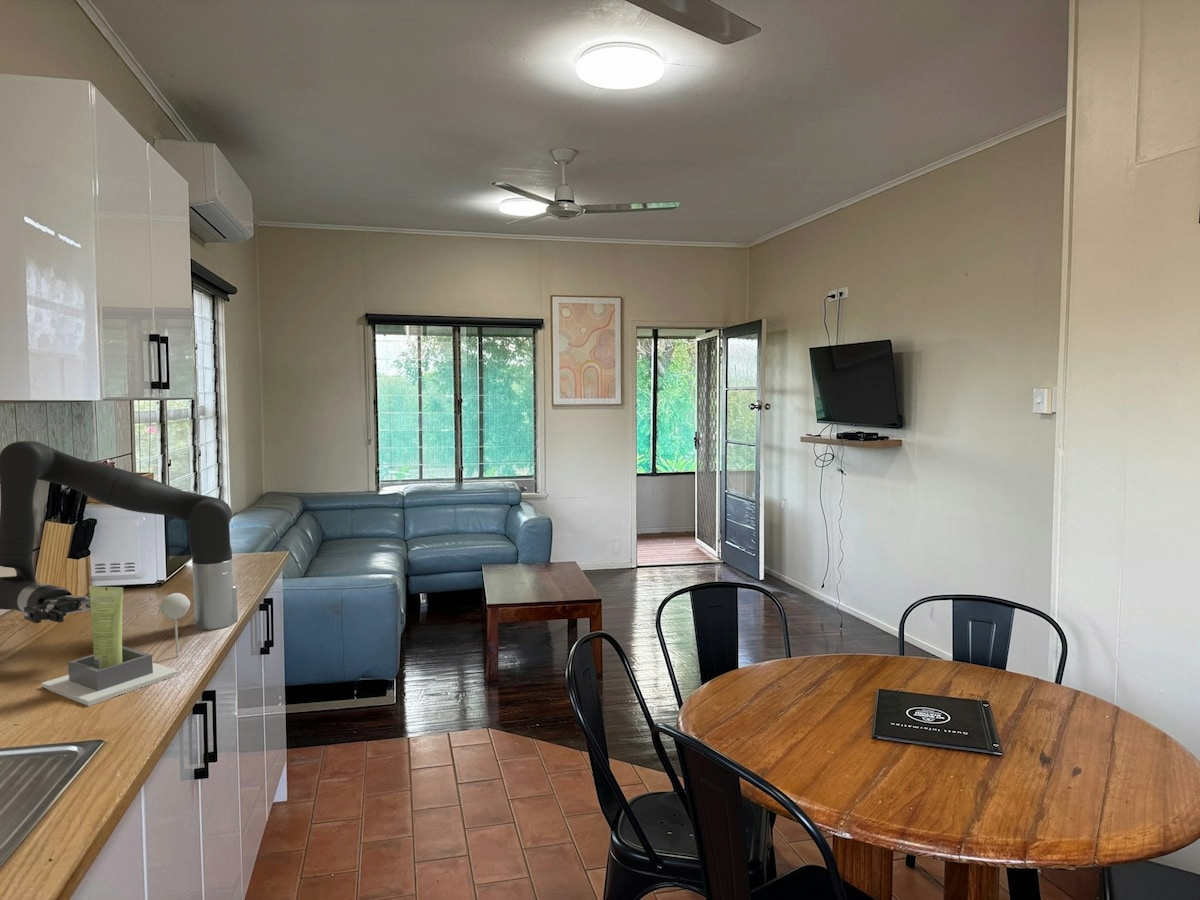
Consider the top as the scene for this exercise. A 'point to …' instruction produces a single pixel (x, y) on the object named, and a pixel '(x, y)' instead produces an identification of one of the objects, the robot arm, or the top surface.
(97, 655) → the tube
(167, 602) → the lollipop
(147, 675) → the socket
